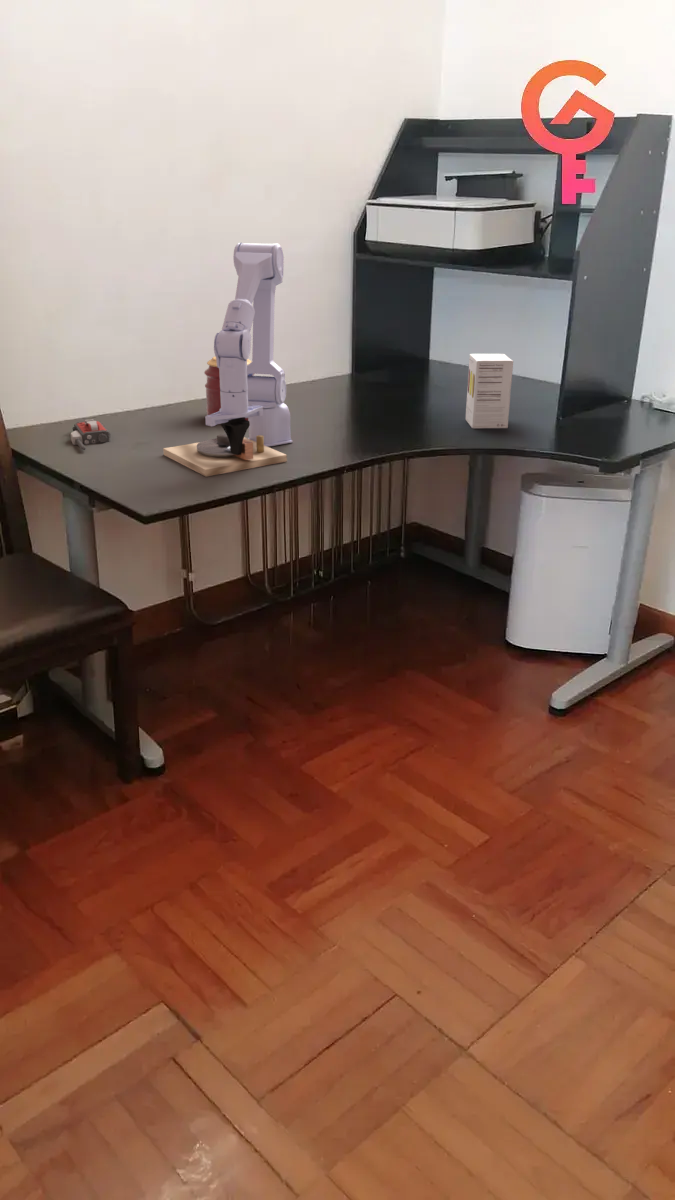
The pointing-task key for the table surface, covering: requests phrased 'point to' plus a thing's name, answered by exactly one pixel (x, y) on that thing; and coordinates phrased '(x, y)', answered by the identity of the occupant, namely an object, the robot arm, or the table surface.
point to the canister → (214, 387)
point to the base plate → (221, 465)
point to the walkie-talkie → (89, 433)
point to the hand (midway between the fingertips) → (236, 453)
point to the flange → (224, 449)
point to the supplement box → (489, 390)
